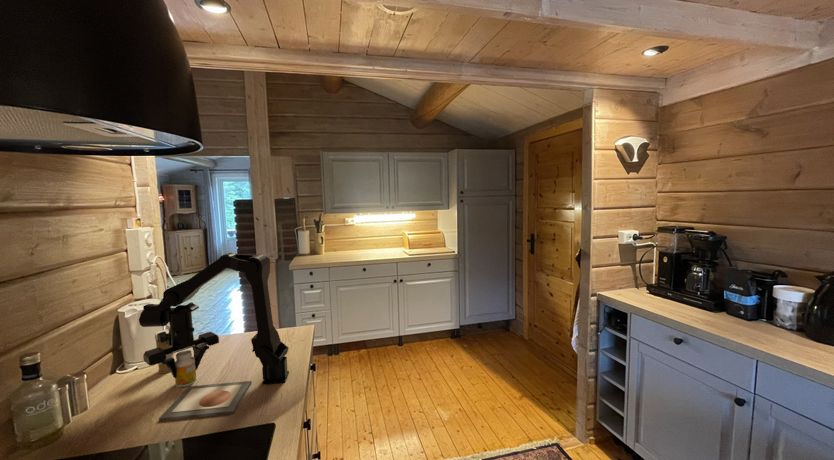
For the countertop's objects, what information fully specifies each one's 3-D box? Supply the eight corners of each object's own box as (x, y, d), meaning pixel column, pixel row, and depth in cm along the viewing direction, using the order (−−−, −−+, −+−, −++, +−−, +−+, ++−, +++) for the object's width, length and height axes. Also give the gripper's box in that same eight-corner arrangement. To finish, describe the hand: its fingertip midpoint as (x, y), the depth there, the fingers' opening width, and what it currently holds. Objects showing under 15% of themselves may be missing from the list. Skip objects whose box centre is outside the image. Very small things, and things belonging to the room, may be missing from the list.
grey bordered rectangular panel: (251, 383, 106) (251, 379, 105) (233, 413, 91) (233, 409, 91) (188, 388, 103) (188, 385, 103) (159, 421, 88) (158, 417, 88)
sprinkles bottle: (174, 371, 114) (171, 332, 112) (157, 375, 111) (153, 335, 110) (175, 365, 117) (171, 328, 116) (158, 369, 115) (155, 331, 113)
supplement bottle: (171, 385, 105) (168, 355, 104) (189, 376, 110) (186, 347, 109) (183, 388, 103) (180, 358, 102) (200, 379, 108) (198, 350, 107)
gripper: (203, 311, 117) (206, 355, 118) (134, 329, 102) (139, 378, 103) (218, 318, 110) (221, 364, 112) (147, 338, 95) (152, 390, 97)
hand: (185, 373), depth 106 cm, fingers closed on supplement bottle, 5 cm apart
